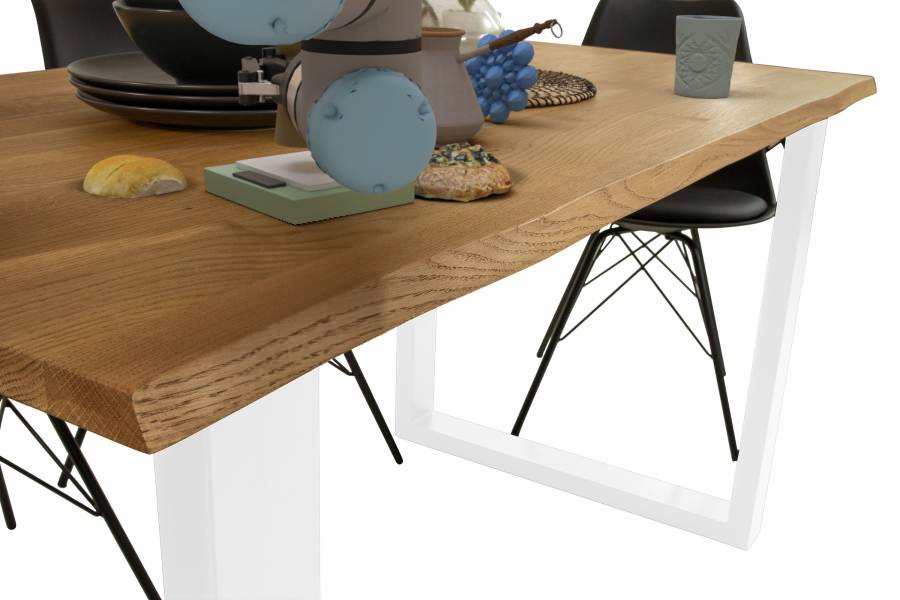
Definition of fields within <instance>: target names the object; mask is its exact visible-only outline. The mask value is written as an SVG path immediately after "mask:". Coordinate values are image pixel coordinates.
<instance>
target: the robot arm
mask: <svg viewBox="0 0 900 600" xmlns="http://www.w3.org/2000/svg"><path fill="white" fill-rule="evenodd" d="M178 2H179V3H180V5H181V7H182V8H183V9H184V11H185V12H186V13H187V14H188V15H189V17H190V18H191V19H192V20H193V21H195V23H197V24H198V25H199V26H200V27H201V28H202V29H204V30H205V31H207V32H208V33H210V34H212V35H214V36H216V37H218V38H220V39H222V40H225V41H226V42H230V43H234V44H239V45H246V46H247V45H248V46H267V47H262V48H261V55H262V56H261V57H262V58H259V60H258V59H257V58H255V57H252V56H245V57H243V58H241V70H238V71H237V84H238V85H237V87H238V103H239V105H241V106H242V105H243V106H244V107H250V106H251V105H255V104H257V103H265V102H266V96H271V97H270V98H271V99H272V101H273V102H274V103H276V104H277V105H278V104H282V106H283V108H284V111H285V113H286V115H287V117H288V119H289V120H290V122H291V123H292V125H293V126H294V128H295V129H296V130H297V131H298V133H299V134H300V136H301V137H302V139H303V141H304V142H305V143H306V144H307V147H308V148H307V151H310V152H311V157H312V158H313V159H314V160H315V162H316V165H317V166H318V167H319V168H320V170H321V171H322V172H324V173H325V174H328V175H329V177H330V178H332V179H334V180H335V181H336V182H337V183H339V184H340V185H342V186H344V187H346V188H348V189H350V190H353V191H355V192H359V193H364V194H374V195H379V194H384V193H389V192H393V191H396V190H398V189H400V188H402V187H404V186H406V185H408V184H409V183H411V182H412V181H413V180H414V179H416V178H417V177H418V176H419V175H420V174H421V172H422V171H423V170H424V169H425V167H426V166H427V164H428V163H429V161H430V159H431V157H432V154H433V151H434V150H435V149H436V148H435V144H436V135H437V128H436V121H435V116H434V113H433V111H432V108H431V106H430V104H429V100H428V99H427V97H426V95H425V94H424V93H423V92H422V48H421V44H422V38H421V28H423V26H422V22H423V19H422V17H423V0H178ZM299 41H300V48H301V52H300V53H299V54H297V55H296V56H295V57H294V58H293V60H292V61H285V60H284V54H282V53H281V52H280V51H279V49H278V48H277V45H290V44H293V43H296V42H299ZM258 61H259V62H258Z"/></svg>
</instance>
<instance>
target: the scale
mask: <svg viewBox="0 0 900 600" xmlns="http://www.w3.org/2000/svg"><path fill="white" fill-rule="evenodd" d="M203 177H204V178H203V179H204V191H205V192H208V193H209V194H213V195H215V196H218V197H220V198H223V199H225V200H228V201H231V202H233V203H236V204H238V205H240V206H243V207H245V208H249V209H252V210H254V211H256V212H259V213H261V214H264V215H267V216H269V217H271V218H274V219H277V220H279V219H280V221H282V220H283V221H282V222H285V221H286V222H285V223H287V222H288V223H287V224H290V223H292V224H294V225H293V226H295V225H296V224H301V223H305V222H310V221H316V222H320V221H319V220H321V221H325V220H324V219H326V220H330V219H329V218H332V219H335V218H334V217H337V218H341V217H340V216H342V217H345V216H346V215H347V216H351V215H356V214H357V215H358V214H361V213H362V214H363V213H366V212H371V211H377V210H383V209H388V208H392V207H397V206H402V205H407V204H412V203H415V194H414V187H415V179H414V180H413V181H412V182H411V183H409V184H408V185H406V186H404V187H402V188H400V189H398V190H396V191H393V192H389V193H384V194H379V195H374V194H364V193H359V192H355V191H353V190H350V189H348V188H346V187H344V186H342V185H340V184H339V183H337V182H336V181H335V180H334V179H332V178H330V177H329V175H328V174H325V173H324V172H322V171H321V170H320V168H319V167H318V166H317V165H316V162H315V160H314V159H313V158H312V157H311V152H310V151H309V150H304V151H298V152H297V151H295V152H289V153H282V154H276V155H269V156H262V157H255V158H248V159H241V160H236V161H235V163H230V164H222V165H215V166H208V167H203ZM347 216H346V217H347ZM292 224H291V225H292ZM301 225H302V224H301ZM296 226H297V225H296Z"/></svg>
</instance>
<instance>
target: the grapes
mask: <svg viewBox="0 0 900 600" xmlns="http://www.w3.org/2000/svg"><path fill="white" fill-rule="evenodd" d="M515 31H516V30H514V29H505V30H503V31H502V32H501V33H500V34H499V35H498V36H496V34H492V33H488V34H484V35H483V36H482V37H481V38H480V39H479V40H478V41H479V42H478V43H477V48H479V47H482V46H485V45H488V44H489V43H491V42H493V41H495V40H497V39H500V38H502V37H504V36H506V35H508V34H510V33H512V32H515ZM534 56H535V49H534V46H533V44H531V42H527V41H521V42H518V43H515V44H512V45H508V46H505V47H502V48H499V49H496V50H493V51H489V52H486V53H484V54H482V55H479V56H477V57H475V58H472V59H470V60H467V61H465V62H464V64H465V67H466V70H467V72H468V75H469V78H470V80H471V83H472V86H473V88H474V91H475V94H476V97H477V99H478V102H479V105H480V107H481V110H482V113H483V115H484V118H487V117H489V119H490V121H492V122H493V123H497V124H501V123H504V122H506V121H507V119H508V118H509V117H510V114H511V112H515V113H519V112H522V111H523V110H524V109H526V107H527V106H528V104H529V99H530V98H529V93H528V91H527V90H530V89H533V87H534V86H536V84H537V82H538V80H539V72H538V69H537V68H536V67H535V66H534V65H530V63H531V62H532V61H533V59H534Z"/></svg>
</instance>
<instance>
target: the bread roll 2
mask: <svg viewBox="0 0 900 600" xmlns="http://www.w3.org/2000/svg"><path fill="white" fill-rule="evenodd" d="M513 186H515V182H513V181H512V179H511V174H510V172H509V170H508V168H507V167H506V166H505V165H504V164H503V163H501V161H500V160H499V159H498V158H496V157H495V155H494V154H493V153H492V152H490V151H485V150H484V148H483V146H482V145H481V144H475V145H471V144H469V143H466V144H464V145H462V146H460V145H459V144H458V143H454V144H451V145H447V146H444V147H442V148H438V149H434V151H433V154H432V157H431V159H430V161H429V163H428V164H427V166H426V167H425V169H424V170H423V171H422V172H421V174H420V175H419V176H418V177H417V178H416V179H415V187H414V195H416V196H420V197H423V198H427V199H432V198H433V199H443V200H452V201H460V202H464V203H467V202H469V201H473V200H476V199H477V200H479V199H481V198H487V197H488V196H489V195H493V194H497V195H498V194H499V195H500V194H505V193H508V192H509V190H510V189H511V188H512V187H513Z"/></svg>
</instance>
